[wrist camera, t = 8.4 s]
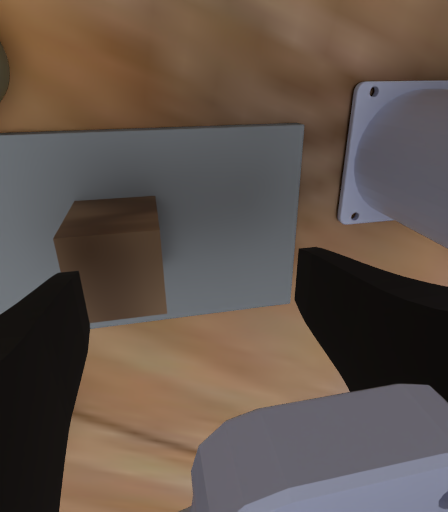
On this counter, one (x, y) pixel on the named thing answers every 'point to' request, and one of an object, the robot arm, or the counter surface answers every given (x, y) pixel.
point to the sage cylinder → (3, 72)
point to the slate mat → (162, 207)
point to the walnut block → (115, 256)
